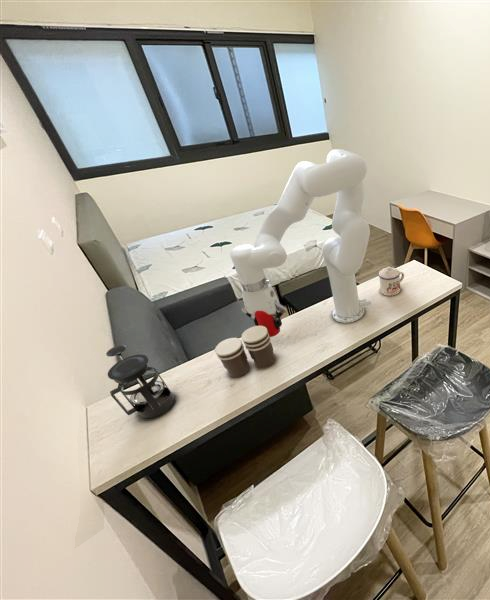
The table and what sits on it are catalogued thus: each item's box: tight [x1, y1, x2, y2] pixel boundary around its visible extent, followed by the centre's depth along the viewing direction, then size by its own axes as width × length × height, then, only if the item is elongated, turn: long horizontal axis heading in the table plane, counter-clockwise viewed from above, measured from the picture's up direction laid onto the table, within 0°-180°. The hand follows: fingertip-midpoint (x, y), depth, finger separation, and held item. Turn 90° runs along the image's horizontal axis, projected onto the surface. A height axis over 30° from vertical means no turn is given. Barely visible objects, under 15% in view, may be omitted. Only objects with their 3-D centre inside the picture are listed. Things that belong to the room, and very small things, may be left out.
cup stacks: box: [214, 325, 276, 379], centre depth 104 cm, size 16×8×12 cm, turn 116°
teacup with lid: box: [378, 266, 405, 297], centre depth 138 cm, size 12×9×12 cm
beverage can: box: [255, 311, 281, 338], centre depth 111 cm, size 6×6×12 cm
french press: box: [105, 344, 177, 421], centre depth 88 cm, size 12×9×23 cm
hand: (269, 326), depth 113 cm, fingers closed on beverage can, 6 cm apart
